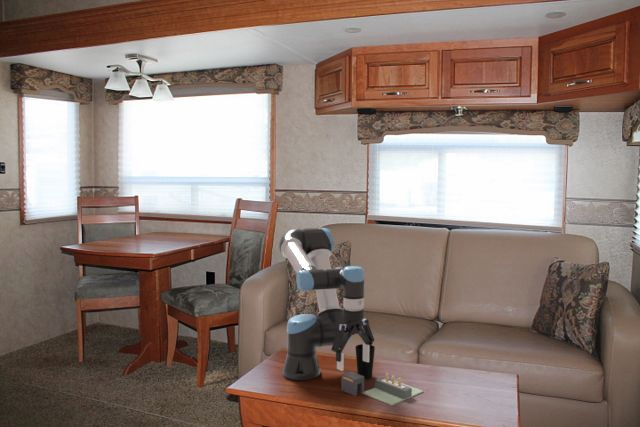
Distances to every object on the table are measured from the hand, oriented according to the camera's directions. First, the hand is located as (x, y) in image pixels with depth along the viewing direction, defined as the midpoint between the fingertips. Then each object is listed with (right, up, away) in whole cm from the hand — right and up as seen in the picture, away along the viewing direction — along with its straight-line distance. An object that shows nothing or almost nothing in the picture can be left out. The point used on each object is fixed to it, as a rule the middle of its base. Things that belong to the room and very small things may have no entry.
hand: (353, 365), depth 200 cm
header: (+15, -10, 0) cm, 18 cm away
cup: (+6, -9, +16) cm, 19 cm away
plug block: (0, -10, +1) cm, 10 cm away
